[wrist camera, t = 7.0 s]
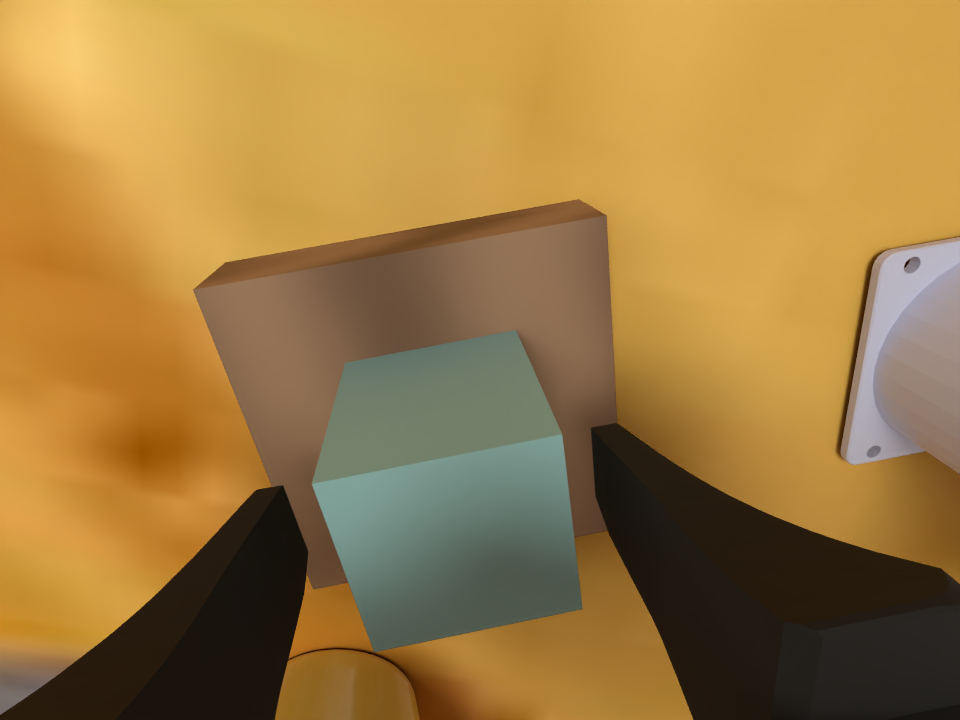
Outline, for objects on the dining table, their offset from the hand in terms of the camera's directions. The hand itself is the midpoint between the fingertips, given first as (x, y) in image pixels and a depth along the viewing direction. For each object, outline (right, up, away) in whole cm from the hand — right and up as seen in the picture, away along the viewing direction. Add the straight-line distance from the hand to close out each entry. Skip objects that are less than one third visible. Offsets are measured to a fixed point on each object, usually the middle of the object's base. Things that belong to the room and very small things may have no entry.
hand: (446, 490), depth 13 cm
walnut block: (-1, +2, +5) cm, 6 cm away
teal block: (0, +1, +2) cm, 3 cm away
